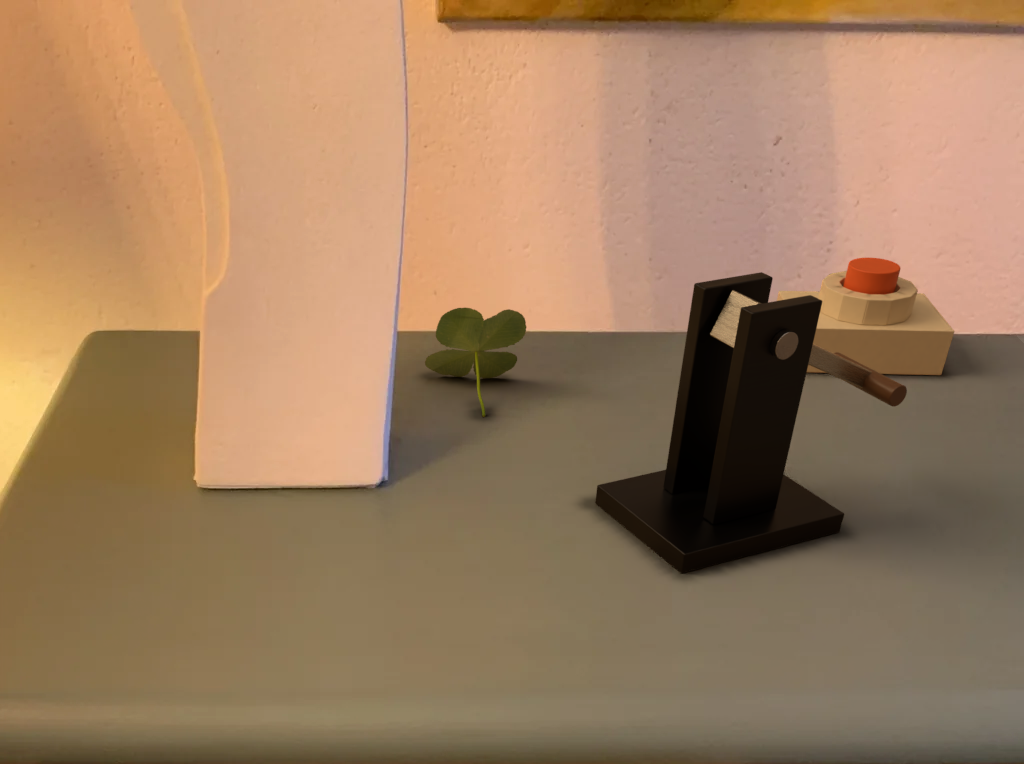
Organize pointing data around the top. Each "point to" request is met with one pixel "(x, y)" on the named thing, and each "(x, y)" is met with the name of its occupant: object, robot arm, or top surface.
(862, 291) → the button
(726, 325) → the lever handle
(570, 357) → the top surface
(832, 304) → the button block
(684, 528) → the black lever stand
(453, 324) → the seedling
